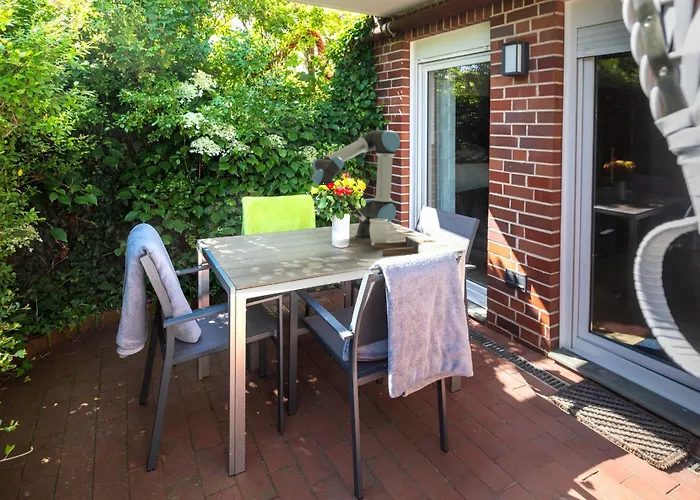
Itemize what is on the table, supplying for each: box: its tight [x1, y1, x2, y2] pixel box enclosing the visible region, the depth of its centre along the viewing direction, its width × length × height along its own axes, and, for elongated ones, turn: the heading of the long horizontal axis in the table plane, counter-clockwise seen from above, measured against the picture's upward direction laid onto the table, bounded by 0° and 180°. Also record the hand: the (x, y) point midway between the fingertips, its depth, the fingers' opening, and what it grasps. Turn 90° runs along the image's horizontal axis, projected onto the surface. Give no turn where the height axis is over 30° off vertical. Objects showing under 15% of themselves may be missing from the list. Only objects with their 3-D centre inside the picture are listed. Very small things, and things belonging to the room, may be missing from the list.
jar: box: [369, 218, 389, 247], centre depth 300 cm, size 11×10×15 cm
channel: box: [373, 235, 419, 256], centre depth 287 cm, size 16×20×6 cm
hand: (361, 217), depth 295 cm, fingers open, 13 cm apart
